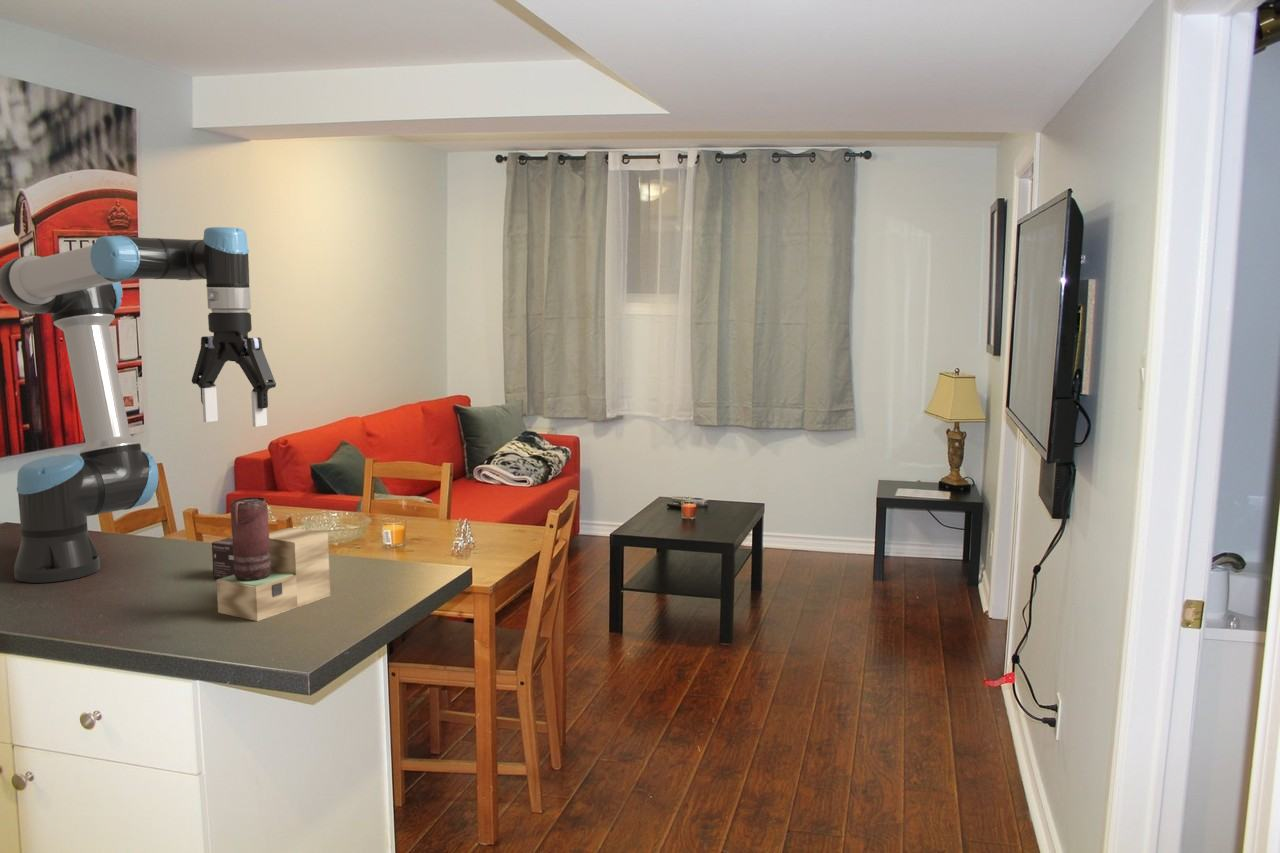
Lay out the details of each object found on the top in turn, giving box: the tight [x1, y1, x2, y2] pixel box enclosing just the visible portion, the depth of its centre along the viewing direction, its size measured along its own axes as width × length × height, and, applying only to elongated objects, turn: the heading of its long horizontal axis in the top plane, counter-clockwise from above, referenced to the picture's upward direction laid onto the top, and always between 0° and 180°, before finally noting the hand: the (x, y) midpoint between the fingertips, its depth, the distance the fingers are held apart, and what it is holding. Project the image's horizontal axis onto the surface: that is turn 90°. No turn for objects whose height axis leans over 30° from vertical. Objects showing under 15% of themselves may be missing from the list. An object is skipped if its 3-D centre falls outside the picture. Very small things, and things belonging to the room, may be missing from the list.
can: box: [229, 496, 271, 581], centre depth 183 cm, size 6×6×14 cm
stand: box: [216, 527, 331, 622], centre depth 187 cm, size 10×17×12 cm, turn 151°
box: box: [211, 536, 234, 579], centre depth 206 cm, size 6×6×7 cm
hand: (235, 423), depth 196 cm, fingers open, 13 cm apart
